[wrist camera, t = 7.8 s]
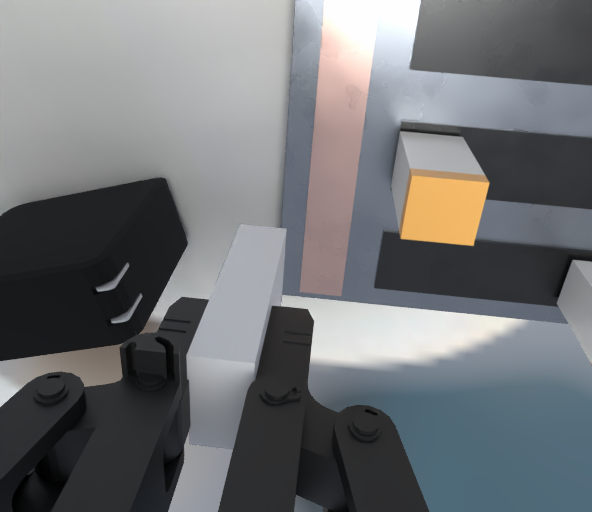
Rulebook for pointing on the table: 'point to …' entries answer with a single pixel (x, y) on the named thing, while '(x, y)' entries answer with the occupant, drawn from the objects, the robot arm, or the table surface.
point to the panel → (441, 121)
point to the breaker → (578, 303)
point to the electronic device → (85, 267)
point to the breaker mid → (437, 189)
